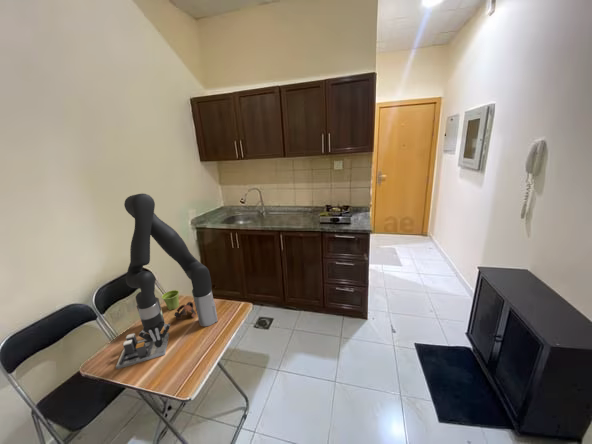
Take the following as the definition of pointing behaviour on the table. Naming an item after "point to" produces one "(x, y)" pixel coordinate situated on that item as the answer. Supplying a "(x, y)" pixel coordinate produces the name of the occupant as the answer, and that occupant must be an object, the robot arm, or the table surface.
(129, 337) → the block
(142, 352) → the breaker
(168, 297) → the plant pot
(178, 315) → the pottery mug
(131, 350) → the block
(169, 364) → the table surface
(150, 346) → the breaker panel
